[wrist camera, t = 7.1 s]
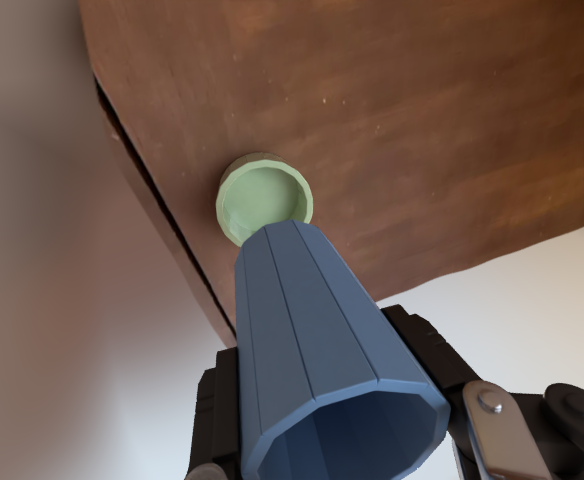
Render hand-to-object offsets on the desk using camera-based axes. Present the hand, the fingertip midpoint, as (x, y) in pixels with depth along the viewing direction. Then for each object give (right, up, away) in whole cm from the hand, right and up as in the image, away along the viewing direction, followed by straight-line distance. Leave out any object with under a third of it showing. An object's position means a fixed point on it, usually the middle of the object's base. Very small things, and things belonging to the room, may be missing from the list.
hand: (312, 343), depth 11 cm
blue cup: (-1, +3, +5) cm, 6 cm away
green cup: (-4, +9, +18) cm, 20 cm away
